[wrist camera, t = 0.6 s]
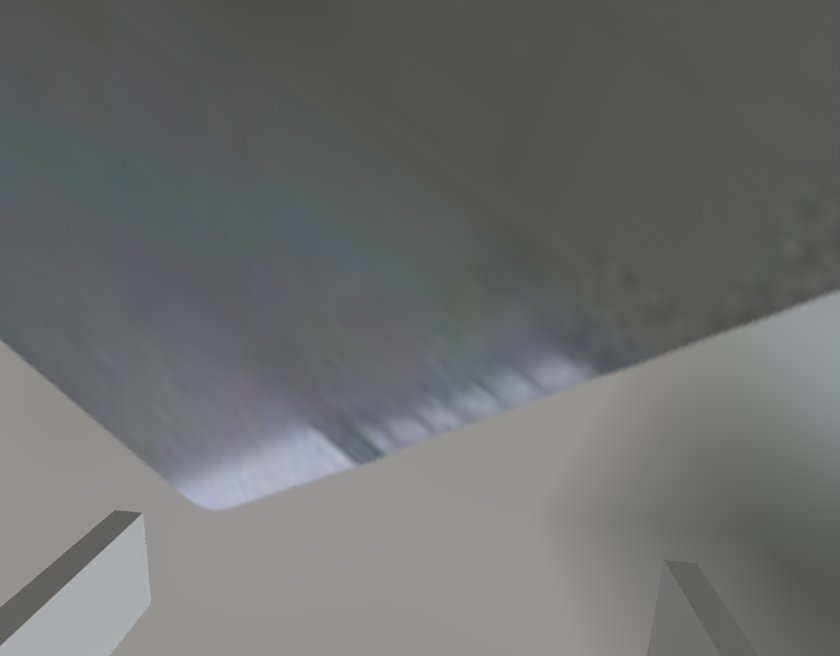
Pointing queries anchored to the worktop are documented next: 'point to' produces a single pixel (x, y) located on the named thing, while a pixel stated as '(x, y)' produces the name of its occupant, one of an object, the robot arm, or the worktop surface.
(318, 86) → the worktop surface
